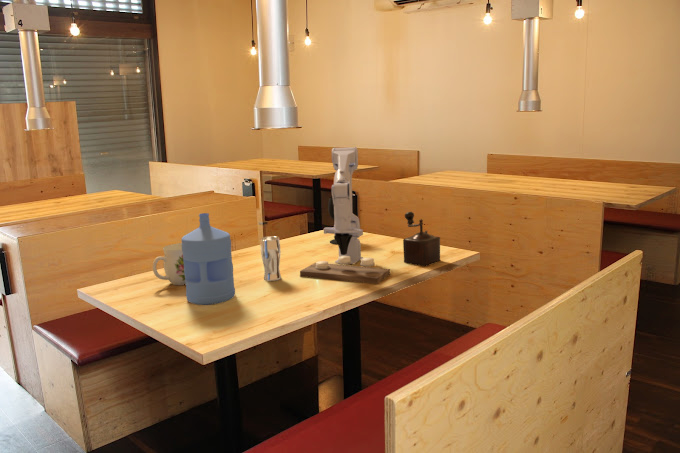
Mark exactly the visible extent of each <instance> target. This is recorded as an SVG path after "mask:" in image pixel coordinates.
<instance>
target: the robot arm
mask: <svg viewBox="0 0 680 453" xmlns="http://www.w3.org/2000/svg"><path fill="white" fill-rule="evenodd" d="M331 163H332V167H333V168H334V171H335V173H334V177H333V178H334V179H333V184H332V185H331V197H332V198H333V204H334V220H335V221H334V220H333V221H334V225H333V227H328V226H327V227H324V228H323V234H324V235H327V234H329V235H330V234H332V235H333V234H334V236H333V238H334V239H335V240H336V242H337V244H338V245H337V244H336V245H337V246H338V257H340V256H350V260H351V263H350V264H349V265H355V264H356V263H358V262H359V261H361V259H362V258H364V257H363V256H362V251H361V250H362V248H361V247H362V246H361V245H362V244H361V241H360V239H359V238H360V237H361V236H363V235H364V230H363V229H361V223H360V218H359V217H358V216H357V215H356V214H354V213H353V173H354V171H356V170H358V167H359V150H358V147H357V146H355V147H353V146H352V147H351V146H350V147H333V148H331ZM337 261H338V259H337V260H335V261H334V262H335V263H334V264H338V263H337Z"/></svg>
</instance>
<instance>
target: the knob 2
mask: <svg viewBox="0 0 680 453" xmlns="http://www.w3.org/2000/svg"><path fill="white" fill-rule="evenodd" d="M337 260H338V261H337ZM337 260H336V261H337V263H336V264H338V265H351V264H350V263H351V260H350V256H340V257H339V256H338V257H337Z"/></svg>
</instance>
